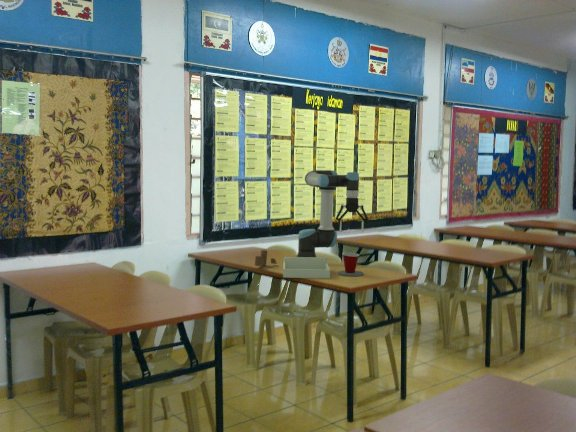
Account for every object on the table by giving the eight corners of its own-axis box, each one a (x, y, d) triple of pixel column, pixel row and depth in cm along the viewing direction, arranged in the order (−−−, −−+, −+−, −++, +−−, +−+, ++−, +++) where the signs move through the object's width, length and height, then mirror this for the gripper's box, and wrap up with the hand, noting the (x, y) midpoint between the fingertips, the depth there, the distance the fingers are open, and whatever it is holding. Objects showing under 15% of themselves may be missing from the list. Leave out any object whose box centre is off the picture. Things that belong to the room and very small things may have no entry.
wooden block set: (260, 269, 389) (261, 253, 388) (249, 266, 394) (251, 251, 393) (276, 265, 404) (278, 250, 403) (266, 263, 409) (267, 248, 408)
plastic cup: (355, 274, 368) (355, 255, 367) (338, 272, 373) (339, 253, 372) (361, 272, 377) (362, 253, 376) (346, 270, 383) (346, 251, 382)
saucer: (336, 271, 383) (336, 270, 383) (361, 271, 383) (361, 270, 383) (338, 276, 367) (338, 274, 367) (365, 276, 367) (365, 275, 367)
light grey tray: (283, 269, 389) (283, 257, 388) (326, 269, 389) (326, 257, 388) (283, 277, 361) (283, 264, 360) (329, 278, 361) (330, 264, 361)
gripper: (332, 197, 367) (331, 231, 369) (373, 197, 367) (372, 232, 369) (331, 196, 375) (330, 230, 377) (371, 197, 375) (370, 231, 377)
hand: (351, 231), depth 373 cm, fingers open, 13 cm apart
